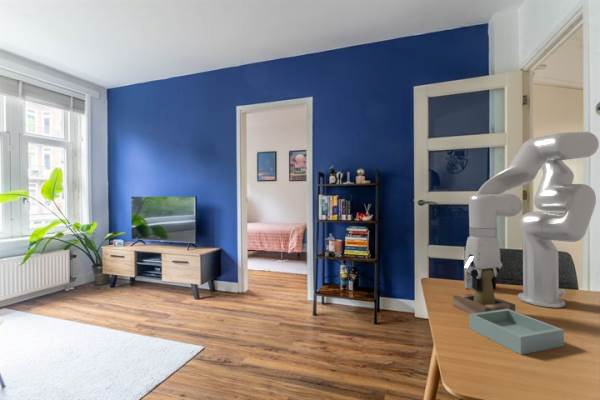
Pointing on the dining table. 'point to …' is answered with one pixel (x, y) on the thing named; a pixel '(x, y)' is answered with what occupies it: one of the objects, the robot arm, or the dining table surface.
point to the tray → (516, 331)
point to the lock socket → (470, 306)
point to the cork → (485, 289)
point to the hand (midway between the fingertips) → (484, 288)
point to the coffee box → (467, 275)
